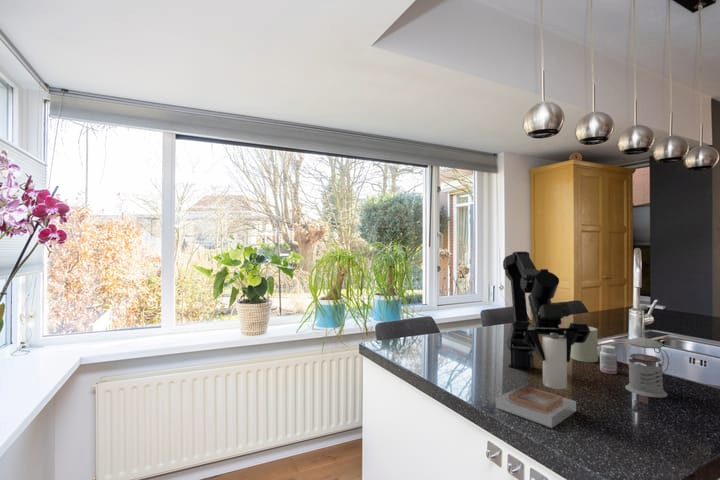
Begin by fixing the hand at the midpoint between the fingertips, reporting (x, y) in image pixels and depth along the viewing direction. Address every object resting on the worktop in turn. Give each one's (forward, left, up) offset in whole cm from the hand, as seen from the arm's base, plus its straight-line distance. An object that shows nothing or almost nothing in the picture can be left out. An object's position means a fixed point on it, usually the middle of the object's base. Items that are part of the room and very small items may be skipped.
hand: (556, 360), depth 92 cm
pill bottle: (-2, +46, -13) cm, 48 cm away
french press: (+11, +36, -13) cm, 40 cm away
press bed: (-4, -2, -13) cm, 14 cm away
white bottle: (-1, +1, -7) cm, 7 cm away
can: (-13, +56, -13) cm, 59 cm away
